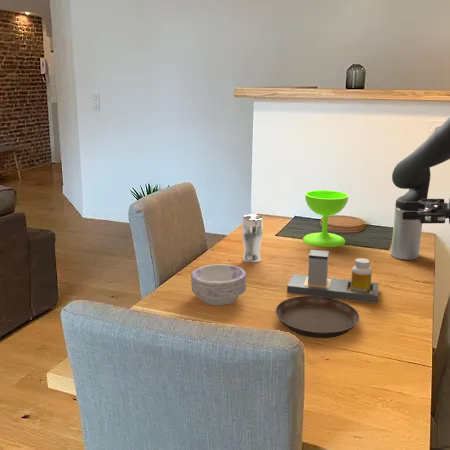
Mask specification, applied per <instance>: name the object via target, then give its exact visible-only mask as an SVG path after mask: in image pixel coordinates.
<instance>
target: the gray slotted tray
mask: <svg viewBox="0 0 450 450" xmlns="http://www.w3.org/2000/svg"><path fill="white" fill-rule="evenodd" d="M329 256H330V251H329V250H320V249H319V250H318V249H317V250H316V249H311V250H310V252H309V253H308V271H307V274H308V275H305V274H297V273H293V274H292V276H291V277H290V280H288V281H289V282H288V283H287V285H286V286H287V287H286V288H287V290H286V293H287V294H294V295H301V296H322V297H328V298H333V299H336V300H345V301H354V302H364V303H371V304H378V299H379V282H372V281H371V285H370V293H365V292H356V291H351V279H344V278H335V277H328V276H329V275H328V272H329V271H328V270H329Z"/></svg>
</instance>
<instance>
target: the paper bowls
mask: <svg viewBox="0 0 450 450" xmlns="http://www.w3.org/2000/svg"><path fill="white" fill-rule="evenodd" d="M190 279H191V280H190V282H191V283H190V286H191V291H192V293H193V294H194V295H195V296H197V297H199V299H200V300H201V301H202V302H203V303H205V304H208V305H211V306H212V305H213V306H225V305H226V306H227V305H230V304H232V303H234V302H235V301H237V299H238V298H239V297H240V296H241V295H242V294H244V293H245V292H246V290H247V273H246V271H245V270H244V269H243V268H242V267H240V266H236V265H233V264H226V263H225V264H224V263H223V264H222V263H221V264H217V263H215V264H208V265H204V266H200V267H197V268H195V269H194V270H193V271H192V272H191V275H190Z"/></svg>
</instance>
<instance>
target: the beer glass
mask: <svg viewBox="0 0 450 450" xmlns="http://www.w3.org/2000/svg"><path fill="white" fill-rule="evenodd" d="M263 218H264V217H263V216H262V215H258V214H248V215H247V214H246V215H244V216H242V225H241V226H242V229H241V231H242V232H241V234H242V240H243V241H242V242H243V250H244V251H243V252H244V253H243V255H242V261H243V262H245V263H249V262H250V263H251V264H255V262H256V263H259V262H261V260H262V258H261V252H260V251H261V244H262V240H263V235H264V234H263V233H264V222H263V221H264V220H263Z"/></svg>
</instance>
